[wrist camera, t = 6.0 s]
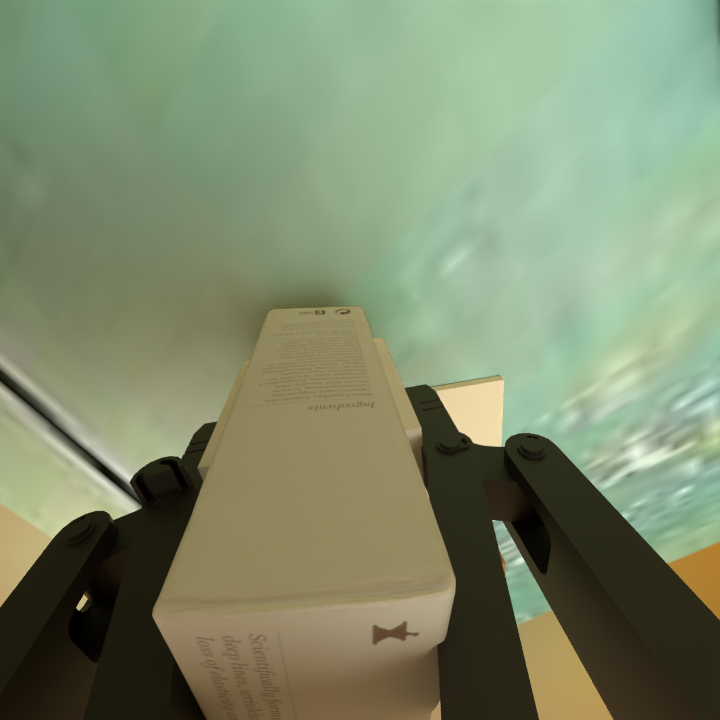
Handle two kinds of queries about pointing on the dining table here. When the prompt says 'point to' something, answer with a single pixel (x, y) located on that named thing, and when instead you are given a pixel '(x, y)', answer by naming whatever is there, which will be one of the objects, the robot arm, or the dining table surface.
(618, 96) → the dining table surface
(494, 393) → the beige mat
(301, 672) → the skincare box
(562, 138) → the dining table surface
